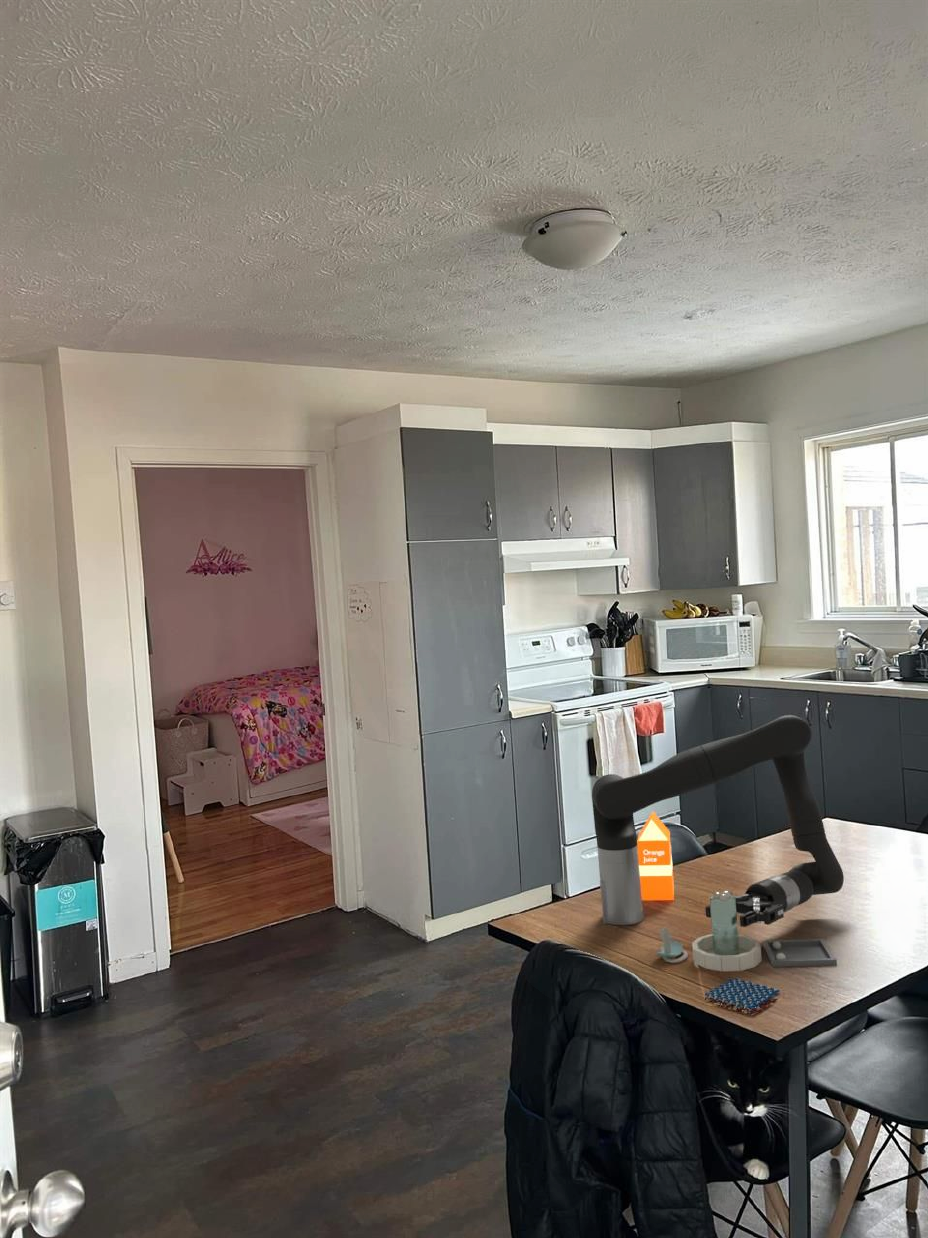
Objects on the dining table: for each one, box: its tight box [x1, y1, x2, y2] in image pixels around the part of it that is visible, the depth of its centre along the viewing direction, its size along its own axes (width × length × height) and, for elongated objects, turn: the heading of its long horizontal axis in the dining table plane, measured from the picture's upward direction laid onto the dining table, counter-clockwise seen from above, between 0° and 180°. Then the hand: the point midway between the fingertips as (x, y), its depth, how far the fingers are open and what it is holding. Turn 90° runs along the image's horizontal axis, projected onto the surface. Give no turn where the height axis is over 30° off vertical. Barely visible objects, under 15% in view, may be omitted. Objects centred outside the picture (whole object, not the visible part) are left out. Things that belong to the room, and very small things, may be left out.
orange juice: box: [637, 810, 675, 901], centre depth 238 cm, size 8×9×20 cm
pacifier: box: [653, 926, 689, 964], centre depth 197 cm, size 7×6×6 cm
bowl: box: [691, 933, 762, 972], centre depth 193 cm, size 13×13×4 cm
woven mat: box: [704, 977, 781, 1016], centre depth 175 cm, size 10×11×2 cm
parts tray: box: [762, 938, 838, 968], centre depth 191 cm, size 12×11×3 cm
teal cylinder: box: [709, 890, 740, 955], centre depth 193 cm, size 5×5×13 cm
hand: (723, 917), depth 193 cm, fingers open, 8 cm apart
